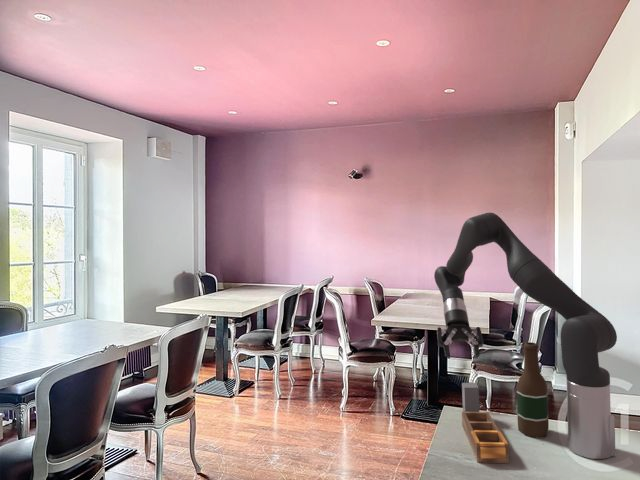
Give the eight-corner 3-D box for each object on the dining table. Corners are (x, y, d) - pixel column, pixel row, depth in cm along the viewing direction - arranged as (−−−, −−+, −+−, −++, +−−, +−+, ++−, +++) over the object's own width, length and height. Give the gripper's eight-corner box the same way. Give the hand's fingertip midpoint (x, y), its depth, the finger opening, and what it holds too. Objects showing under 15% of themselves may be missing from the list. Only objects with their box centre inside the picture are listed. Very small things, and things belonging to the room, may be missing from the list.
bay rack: (488, 426, 129) (488, 410, 129) (509, 464, 109) (508, 445, 108) (462, 425, 130) (461, 409, 130) (477, 463, 109) (477, 444, 109)
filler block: (476, 414, 137) (475, 382, 137) (479, 420, 133) (478, 387, 133) (462, 414, 138) (461, 382, 137) (465, 419, 134) (464, 387, 133)
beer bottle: (553, 439, 120) (550, 347, 119) (521, 437, 122) (518, 347, 121) (544, 426, 128) (542, 340, 127) (514, 424, 129) (512, 339, 128)
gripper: (434, 308, 155) (440, 351, 144) (478, 307, 154) (487, 351, 142) (433, 320, 161) (439, 363, 150) (475, 320, 159) (484, 363, 148)
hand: (462, 357), depth 146 cm, fingers open, 8 cm apart
